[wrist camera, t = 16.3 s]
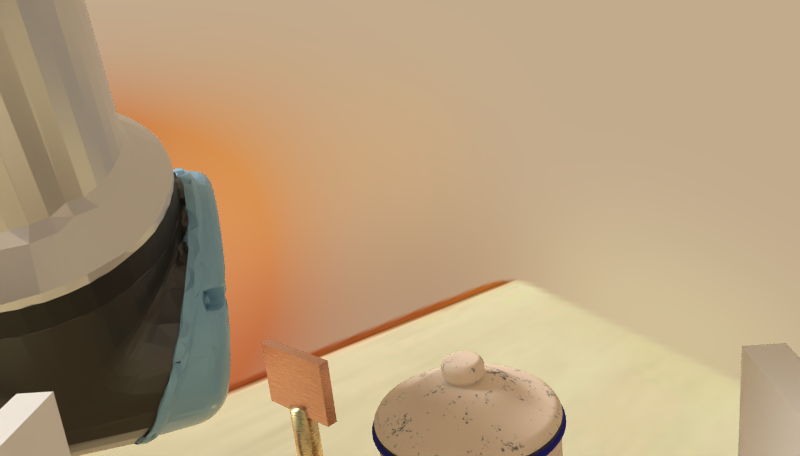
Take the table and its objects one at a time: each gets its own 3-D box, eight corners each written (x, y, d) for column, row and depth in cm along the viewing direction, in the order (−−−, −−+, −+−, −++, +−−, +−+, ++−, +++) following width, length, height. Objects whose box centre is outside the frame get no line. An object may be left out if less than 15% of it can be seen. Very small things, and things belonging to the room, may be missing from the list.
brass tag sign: (261, 531, 44) (228, 358, 41) (326, 487, 47) (300, 325, 44) (316, 568, 40) (284, 382, 37) (382, 518, 44) (358, 344, 41)
